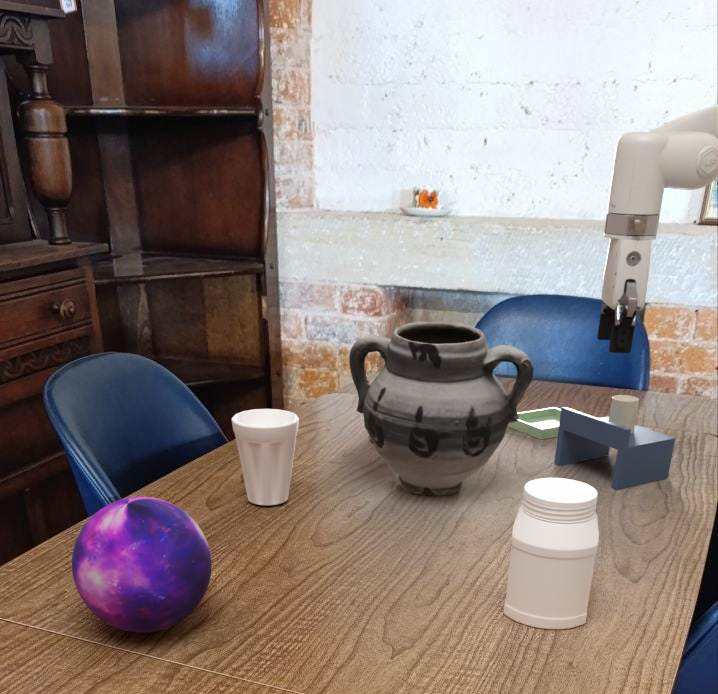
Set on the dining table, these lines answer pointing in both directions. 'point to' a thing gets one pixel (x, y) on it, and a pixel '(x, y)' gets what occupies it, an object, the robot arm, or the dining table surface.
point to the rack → (635, 451)
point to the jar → (552, 554)
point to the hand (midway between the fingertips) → (613, 345)
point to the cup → (266, 452)
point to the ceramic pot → (437, 401)
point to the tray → (538, 423)
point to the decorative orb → (141, 564)
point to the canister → (624, 411)
